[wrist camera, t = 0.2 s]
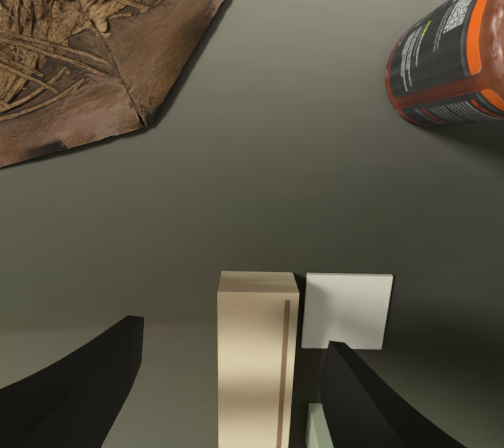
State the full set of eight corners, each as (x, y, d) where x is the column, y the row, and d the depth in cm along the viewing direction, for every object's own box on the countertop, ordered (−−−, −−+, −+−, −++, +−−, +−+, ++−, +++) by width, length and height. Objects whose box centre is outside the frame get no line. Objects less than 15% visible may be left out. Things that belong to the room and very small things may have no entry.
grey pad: (379, 346, 23) (381, 349, 23) (301, 345, 23) (301, 347, 23) (391, 274, 22) (393, 276, 21) (306, 272, 22) (307, 274, 21)
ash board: (280, 455, 26) (284, 495, 23) (222, 454, 26) (219, 494, 23) (292, 272, 22) (299, 293, 19) (221, 271, 22) (217, 292, 19)
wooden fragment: (202, -180, 15) (198, -202, 14) (298, 39, 18) (301, 33, 17) (-163, 86, 19) (-187, 83, 18) (-36, 237, 21) (-50, 242, 20)
